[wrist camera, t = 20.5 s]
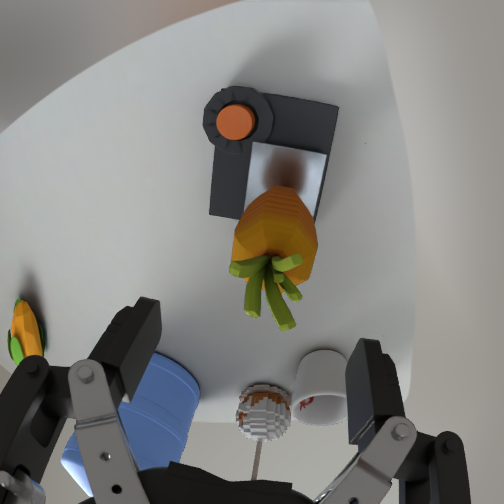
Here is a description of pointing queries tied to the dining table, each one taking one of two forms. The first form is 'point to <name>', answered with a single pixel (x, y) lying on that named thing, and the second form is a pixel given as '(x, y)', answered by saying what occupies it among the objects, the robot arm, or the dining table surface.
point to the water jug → (150, 419)
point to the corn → (24, 333)
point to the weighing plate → (285, 172)
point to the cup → (320, 389)
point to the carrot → (274, 251)
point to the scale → (262, 140)
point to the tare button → (235, 121)
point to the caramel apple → (263, 416)
